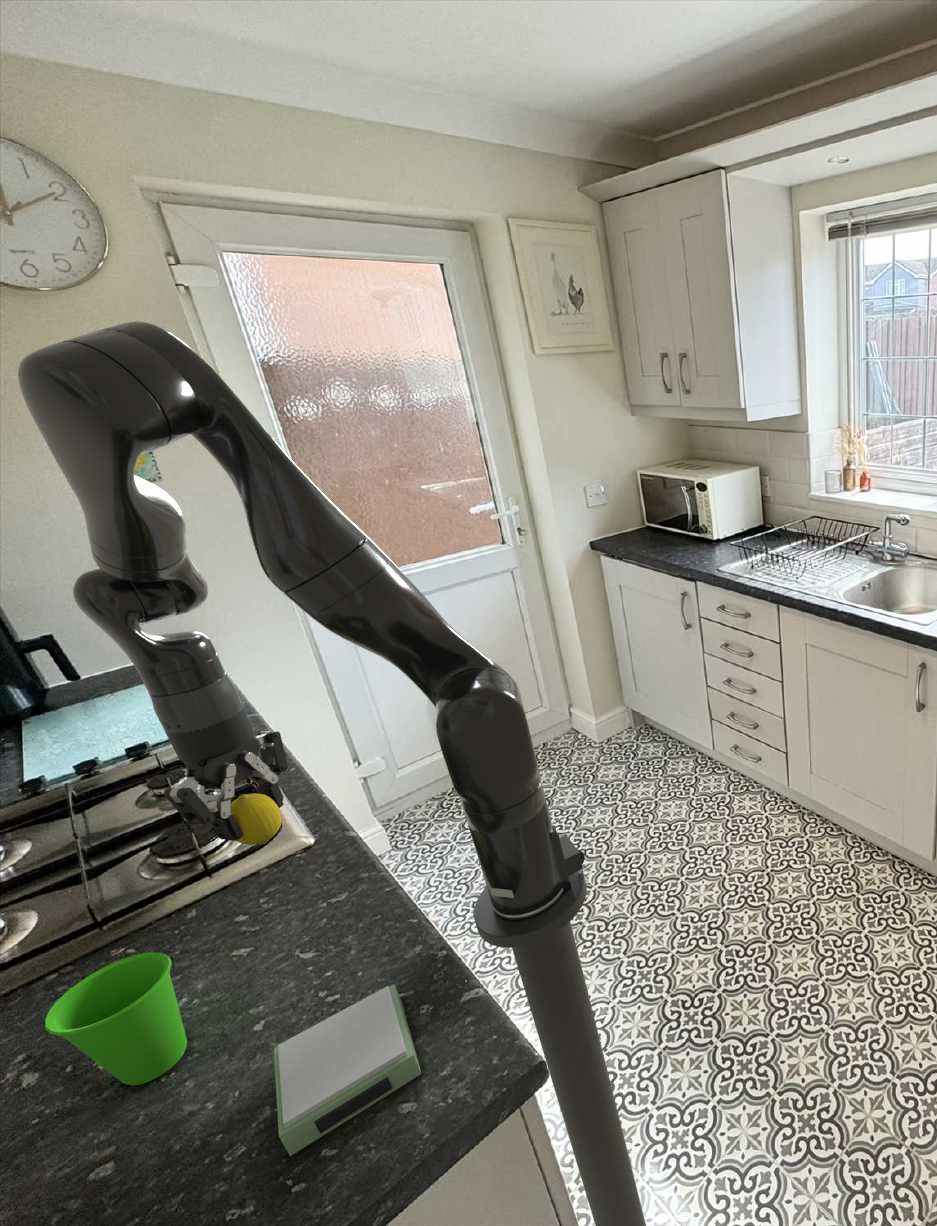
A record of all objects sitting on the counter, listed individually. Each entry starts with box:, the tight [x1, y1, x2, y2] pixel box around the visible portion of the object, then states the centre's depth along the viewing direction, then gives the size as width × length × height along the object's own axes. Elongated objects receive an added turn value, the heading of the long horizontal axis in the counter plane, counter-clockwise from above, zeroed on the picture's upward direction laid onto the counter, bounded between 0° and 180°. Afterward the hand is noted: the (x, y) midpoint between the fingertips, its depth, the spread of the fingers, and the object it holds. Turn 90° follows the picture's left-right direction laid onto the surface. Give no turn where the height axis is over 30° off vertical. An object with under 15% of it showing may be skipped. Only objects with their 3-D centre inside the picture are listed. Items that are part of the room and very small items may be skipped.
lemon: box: [231, 793, 283, 846], centre depth 86 cm, size 6×6×8 cm
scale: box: [273, 983, 422, 1157], centre depth 66 cm, size 11×11×4 cm
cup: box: [44, 951, 188, 1086], centre depth 67 cm, size 9×9×11 cm
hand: (255, 821), depth 86 cm, fingers closed on lemon, 5 cm apart
